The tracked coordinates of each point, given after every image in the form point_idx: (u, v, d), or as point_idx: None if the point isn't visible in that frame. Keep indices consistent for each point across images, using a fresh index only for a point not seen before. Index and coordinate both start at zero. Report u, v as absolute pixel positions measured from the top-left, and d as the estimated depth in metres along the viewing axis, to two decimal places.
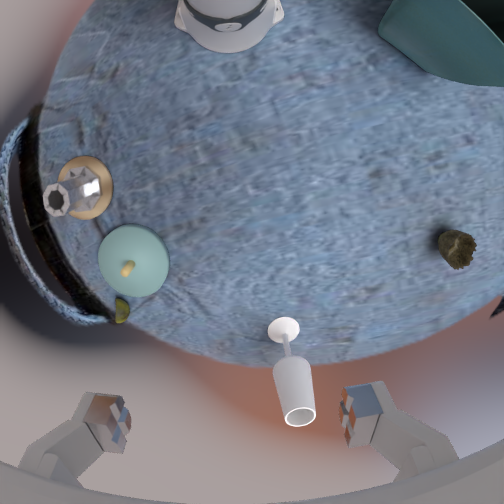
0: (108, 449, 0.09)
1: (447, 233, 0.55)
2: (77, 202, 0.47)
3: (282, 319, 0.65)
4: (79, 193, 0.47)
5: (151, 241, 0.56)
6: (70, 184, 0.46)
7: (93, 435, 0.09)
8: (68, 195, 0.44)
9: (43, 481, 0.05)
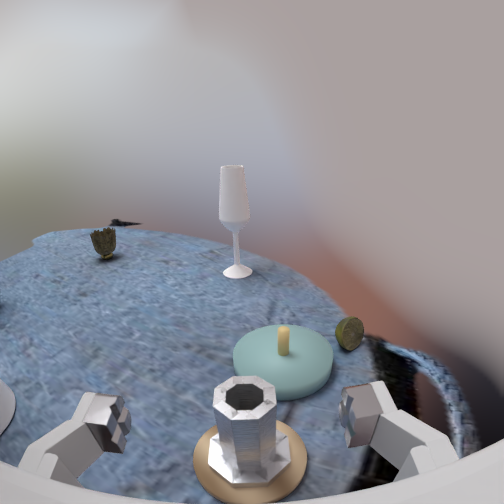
0: (108, 449, 0.09)
1: (98, 249, 0.81)
2: None
3: (228, 275, 0.73)
4: None
5: (238, 352, 0.44)
6: None
7: (93, 435, 0.09)
8: (221, 385, 0.27)
9: (43, 481, 0.05)
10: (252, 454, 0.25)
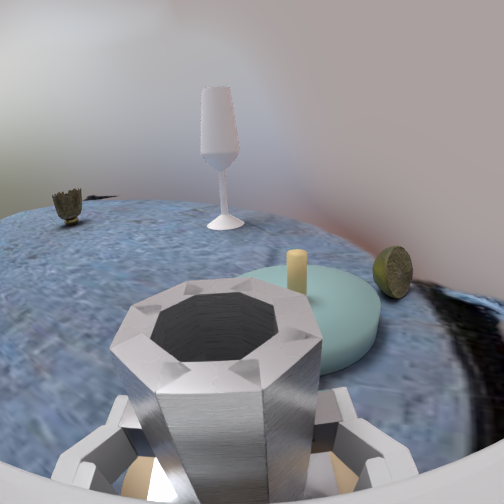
0: (143, 453, 0.09)
1: (61, 211, 0.64)
2: None
3: (214, 227, 0.56)
4: None
5: None
6: None
7: (129, 440, 0.09)
8: None
9: (43, 481, 0.05)
10: (247, 503, 0.08)
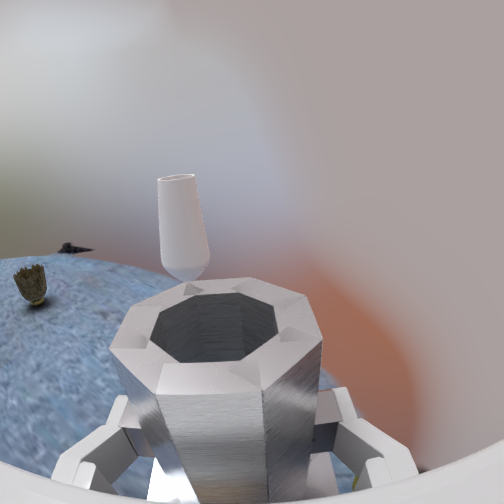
0: (143, 453, 0.09)
1: (24, 294, 0.54)
2: None
3: None
4: None
5: None
6: None
7: (129, 440, 0.09)
8: None
9: (43, 481, 0.05)
10: None
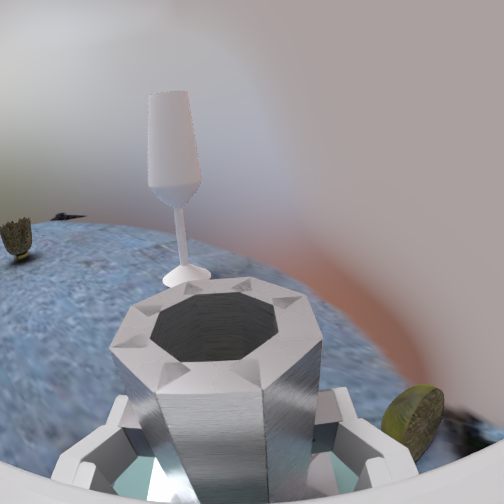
0: (143, 453, 0.09)
1: (7, 246, 0.49)
2: None
3: (169, 283, 0.41)
4: None
5: (126, 487, 0.13)
6: None
7: (129, 440, 0.09)
8: None
9: (43, 481, 0.05)
10: (247, 503, 0.08)
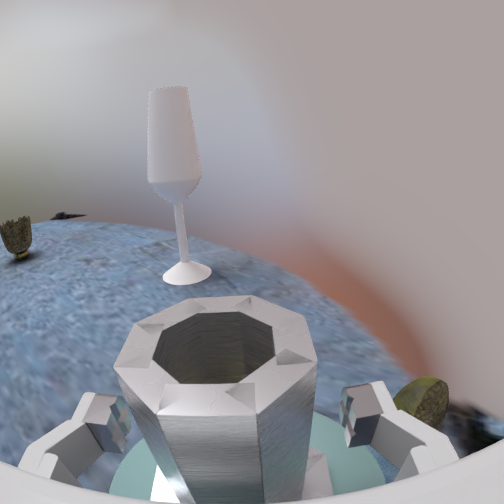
0: (108, 449, 0.09)
1: (7, 245, 0.49)
2: None
3: (170, 280, 0.41)
4: None
5: (125, 483, 0.12)
6: None
7: (93, 435, 0.09)
8: None
9: (43, 481, 0.05)
10: None
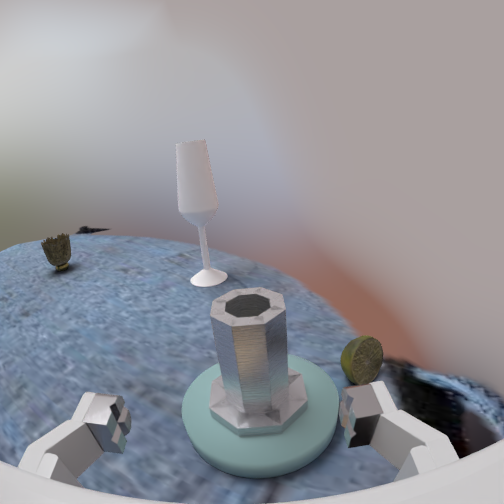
0: (108, 449, 0.09)
1: (50, 259, 0.64)
2: None
3: (196, 283, 0.56)
4: None
5: (191, 400, 0.27)
6: None
7: (93, 435, 0.09)
8: None
9: (43, 481, 0.05)
10: (260, 385, 0.23)
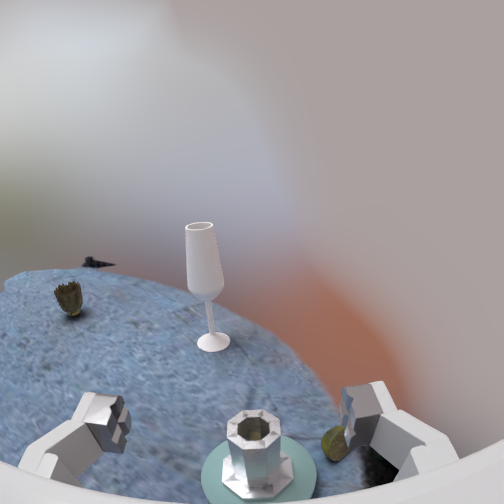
0: (108, 449, 0.09)
1: (64, 307, 0.69)
2: None
3: (203, 347, 0.61)
4: None
5: (207, 472, 0.33)
6: None
7: (93, 435, 0.09)
8: (232, 419, 0.30)
9: (43, 481, 0.05)
10: (260, 474, 0.28)
